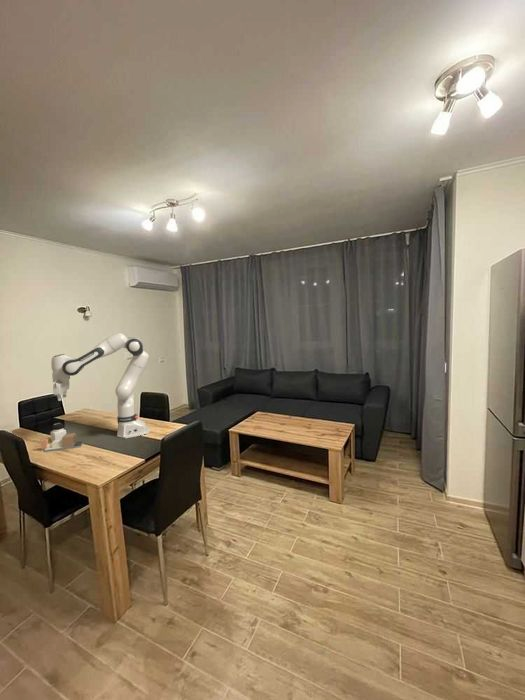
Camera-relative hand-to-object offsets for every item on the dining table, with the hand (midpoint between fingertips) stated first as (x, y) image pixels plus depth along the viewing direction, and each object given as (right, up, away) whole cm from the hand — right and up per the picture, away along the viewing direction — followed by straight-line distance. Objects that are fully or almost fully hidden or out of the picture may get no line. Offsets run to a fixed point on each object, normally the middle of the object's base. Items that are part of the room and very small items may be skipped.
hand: (62, 398), depth 193 cm
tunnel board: (+4, -31, -3) cm, 32 cm away
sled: (-2, -30, -5) cm, 31 cm away
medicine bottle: (-8, -31, +8) cm, 33 cm away
